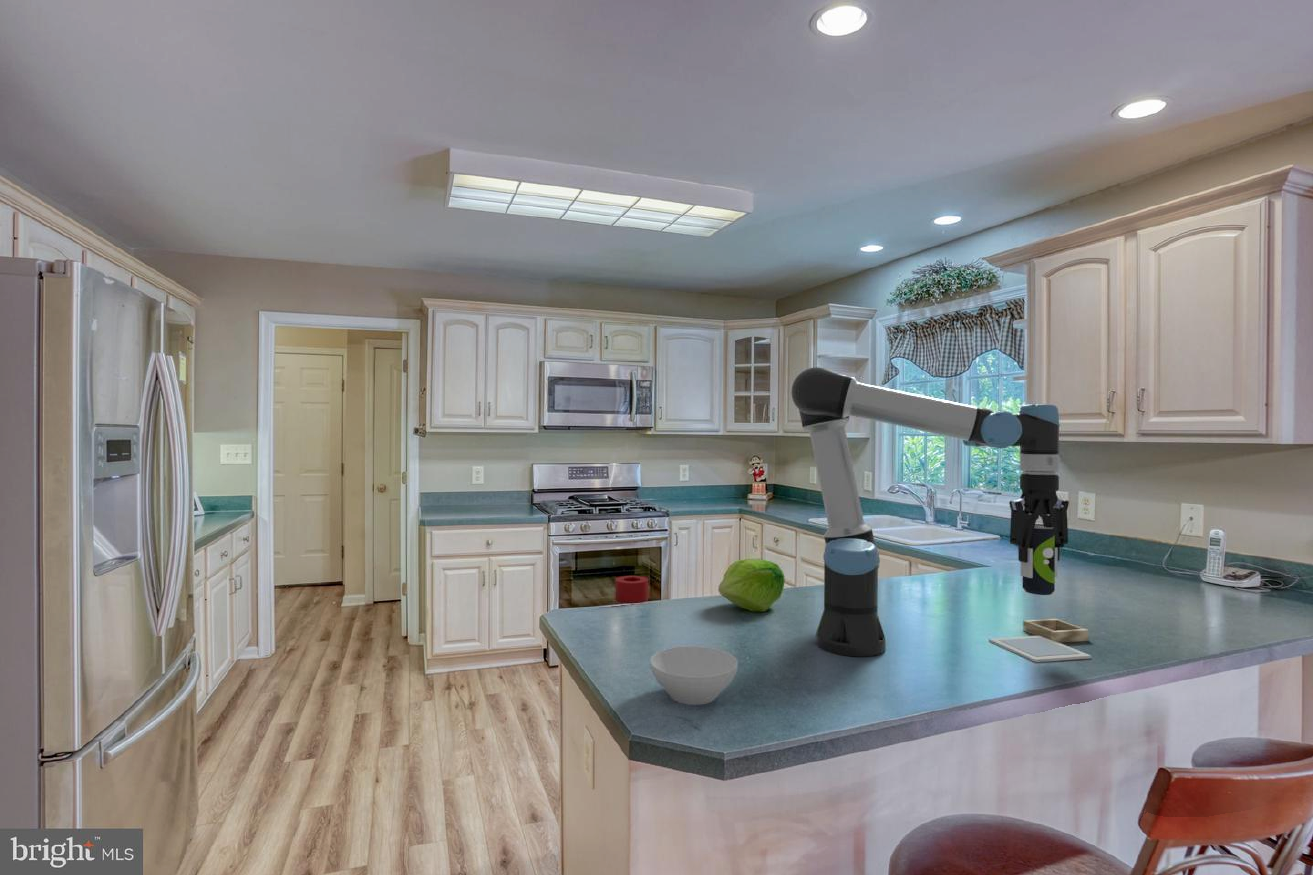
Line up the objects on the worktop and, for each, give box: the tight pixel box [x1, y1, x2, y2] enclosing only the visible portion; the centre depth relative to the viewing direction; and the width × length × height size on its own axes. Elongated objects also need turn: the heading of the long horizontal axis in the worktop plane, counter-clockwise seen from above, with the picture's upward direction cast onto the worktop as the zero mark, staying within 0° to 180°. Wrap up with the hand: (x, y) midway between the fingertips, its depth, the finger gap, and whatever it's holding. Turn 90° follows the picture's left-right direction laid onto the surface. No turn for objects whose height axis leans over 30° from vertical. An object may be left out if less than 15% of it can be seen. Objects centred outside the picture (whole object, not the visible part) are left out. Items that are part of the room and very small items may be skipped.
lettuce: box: [717, 558, 785, 613], centre depth 175 cm, size 15×20×14 cm
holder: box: [1022, 618, 1090, 644], centre depth 153 cm, size 10×10×2 cm
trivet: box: [988, 635, 1092, 663], centre depth 143 cm, size 14×14×1 cm
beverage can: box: [1022, 523, 1056, 596], centre depth 144 cm, size 6×6×15 cm
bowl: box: [649, 645, 739, 706], centre depth 116 cm, size 16×16×7 cm
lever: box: [614, 575, 649, 605], centre depth 187 cm, size 18×9×7 cm, turn 175°
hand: (1038, 575), depth 143 cm, fingers closed on beverage can, 6 cm apart
